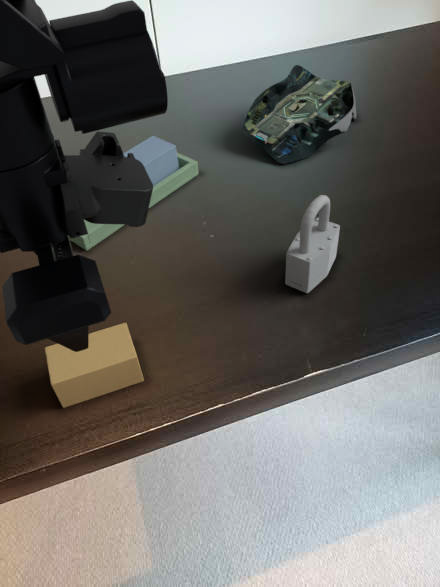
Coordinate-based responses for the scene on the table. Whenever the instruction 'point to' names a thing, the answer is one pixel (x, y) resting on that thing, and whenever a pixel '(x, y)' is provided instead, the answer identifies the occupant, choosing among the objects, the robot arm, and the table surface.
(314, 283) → the padlock
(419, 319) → the table surface
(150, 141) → the blue block
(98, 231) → the tray
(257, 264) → the table surface
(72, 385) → the tan block
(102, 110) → the robot arm
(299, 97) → the model
